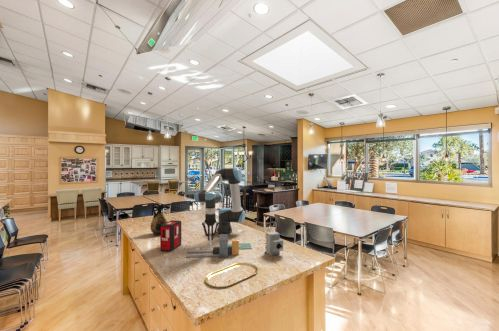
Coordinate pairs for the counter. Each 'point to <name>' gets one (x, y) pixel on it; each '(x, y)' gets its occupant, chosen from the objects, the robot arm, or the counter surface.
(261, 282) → the counter surface
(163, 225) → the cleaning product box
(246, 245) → the mat
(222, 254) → the housing
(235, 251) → the plug
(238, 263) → the gold oval ring
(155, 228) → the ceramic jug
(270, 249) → the circuit breaker
